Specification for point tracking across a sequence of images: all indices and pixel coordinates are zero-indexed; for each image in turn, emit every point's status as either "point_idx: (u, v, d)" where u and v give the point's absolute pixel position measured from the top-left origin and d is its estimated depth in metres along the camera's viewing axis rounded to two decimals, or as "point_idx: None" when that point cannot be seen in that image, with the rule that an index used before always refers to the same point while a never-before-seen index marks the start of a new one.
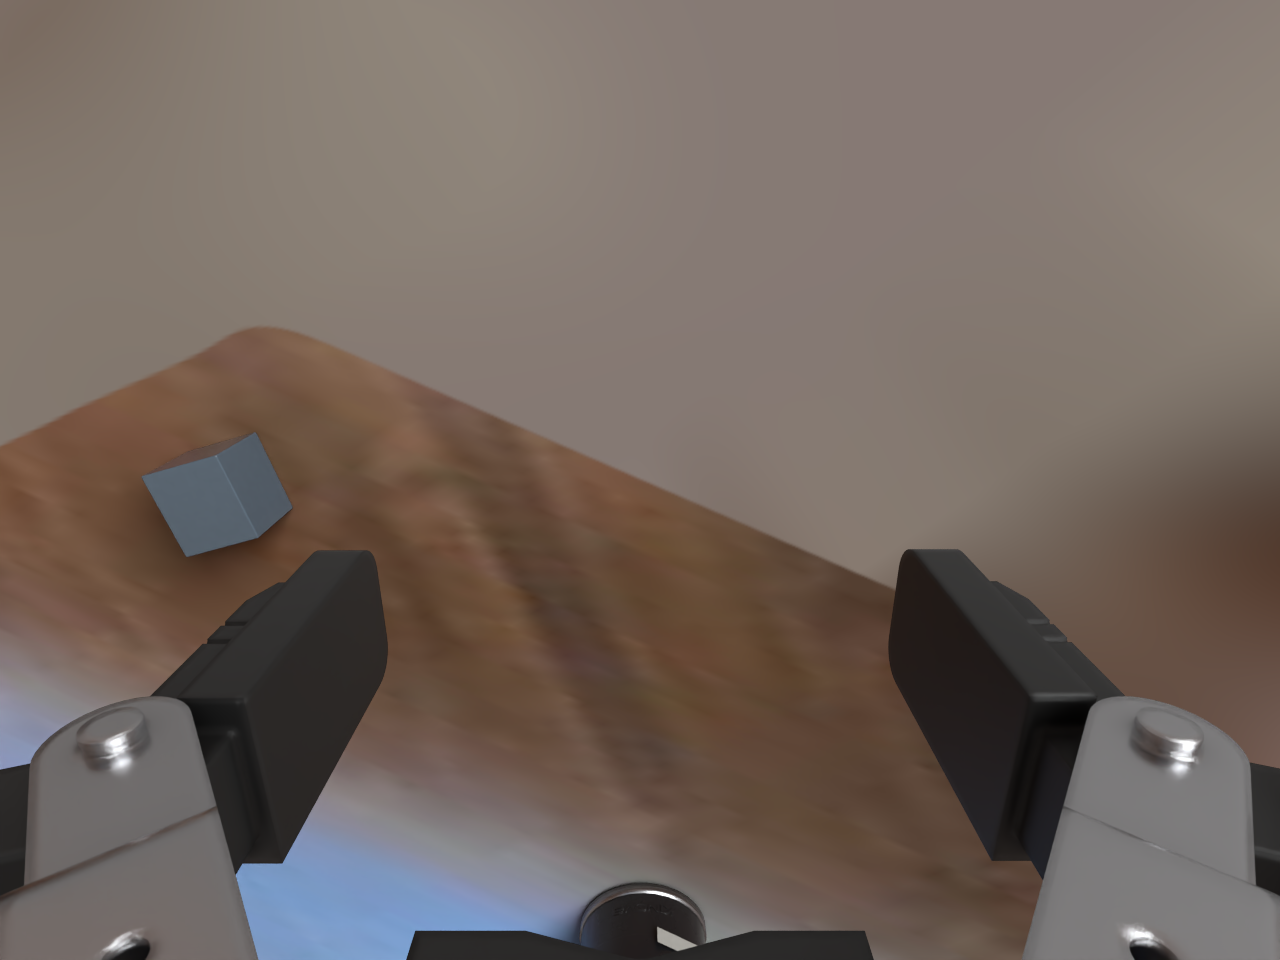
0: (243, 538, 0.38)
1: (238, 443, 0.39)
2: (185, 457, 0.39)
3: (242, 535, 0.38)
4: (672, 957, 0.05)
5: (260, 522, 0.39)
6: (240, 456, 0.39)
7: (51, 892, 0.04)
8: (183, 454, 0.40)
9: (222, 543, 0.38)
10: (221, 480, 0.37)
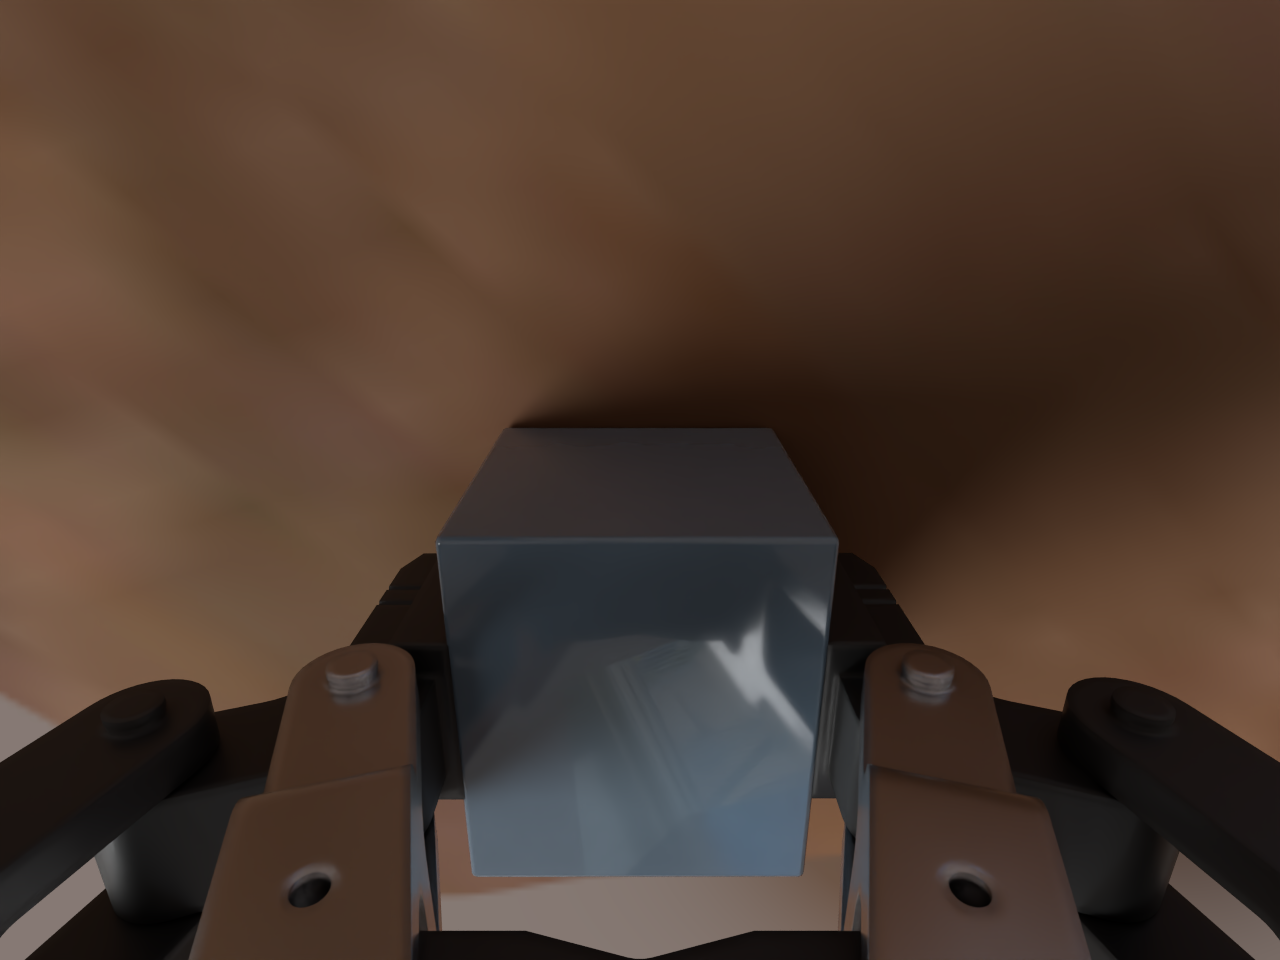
0: (506, 553, 0.08)
1: None
2: None
3: (506, 569, 0.08)
4: (674, 957, 0.05)
5: None
6: None
7: (271, 808, 0.05)
8: None
9: (621, 560, 0.08)
10: (489, 799, 0.09)
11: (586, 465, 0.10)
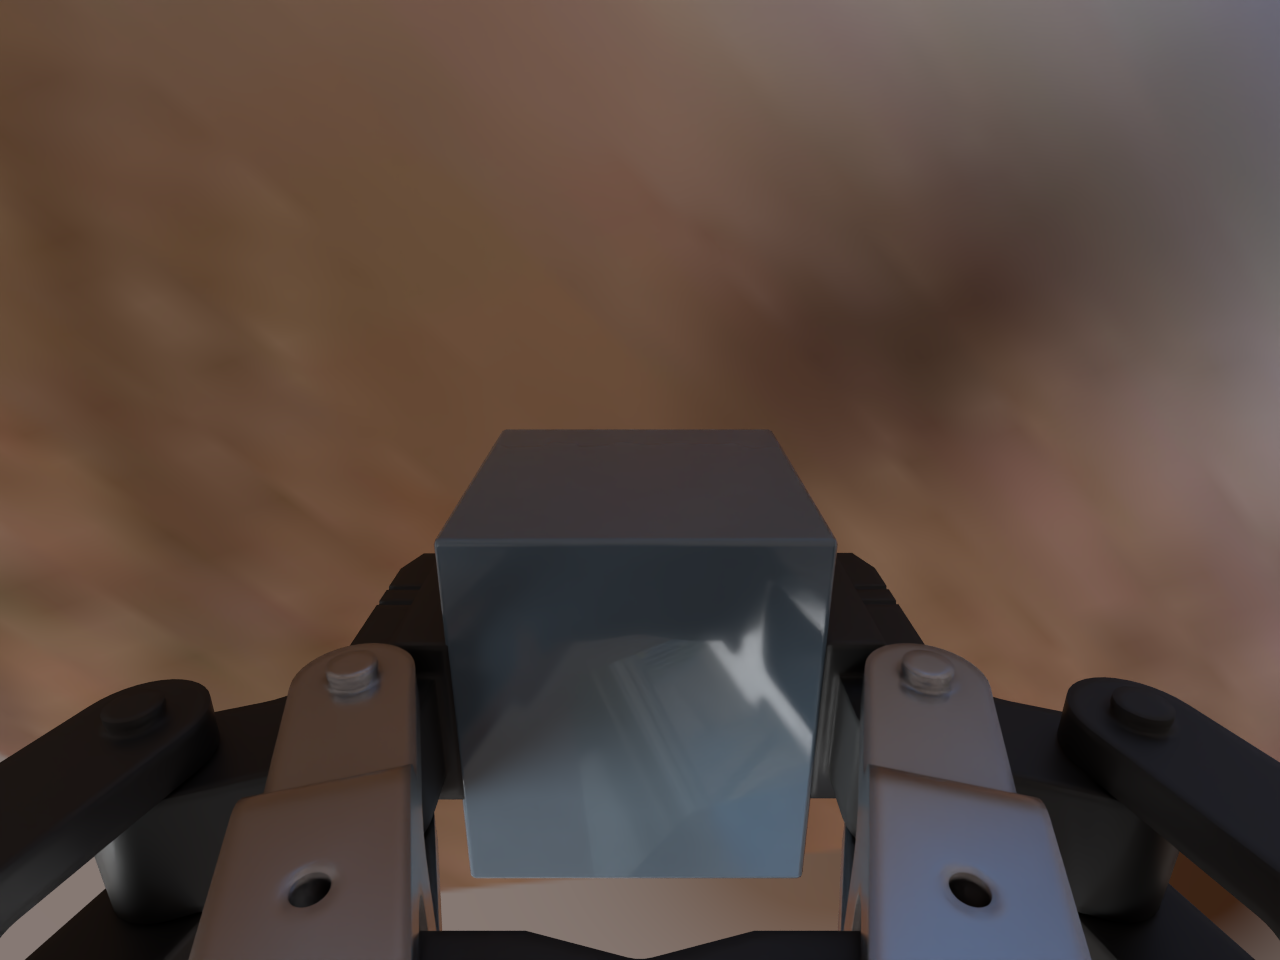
0: (505, 555, 0.08)
1: None
2: None
3: (503, 572, 0.08)
4: (672, 955, 0.05)
5: None
6: None
7: (271, 808, 0.05)
8: None
9: (619, 562, 0.08)
10: (488, 801, 0.09)
11: (585, 467, 0.10)
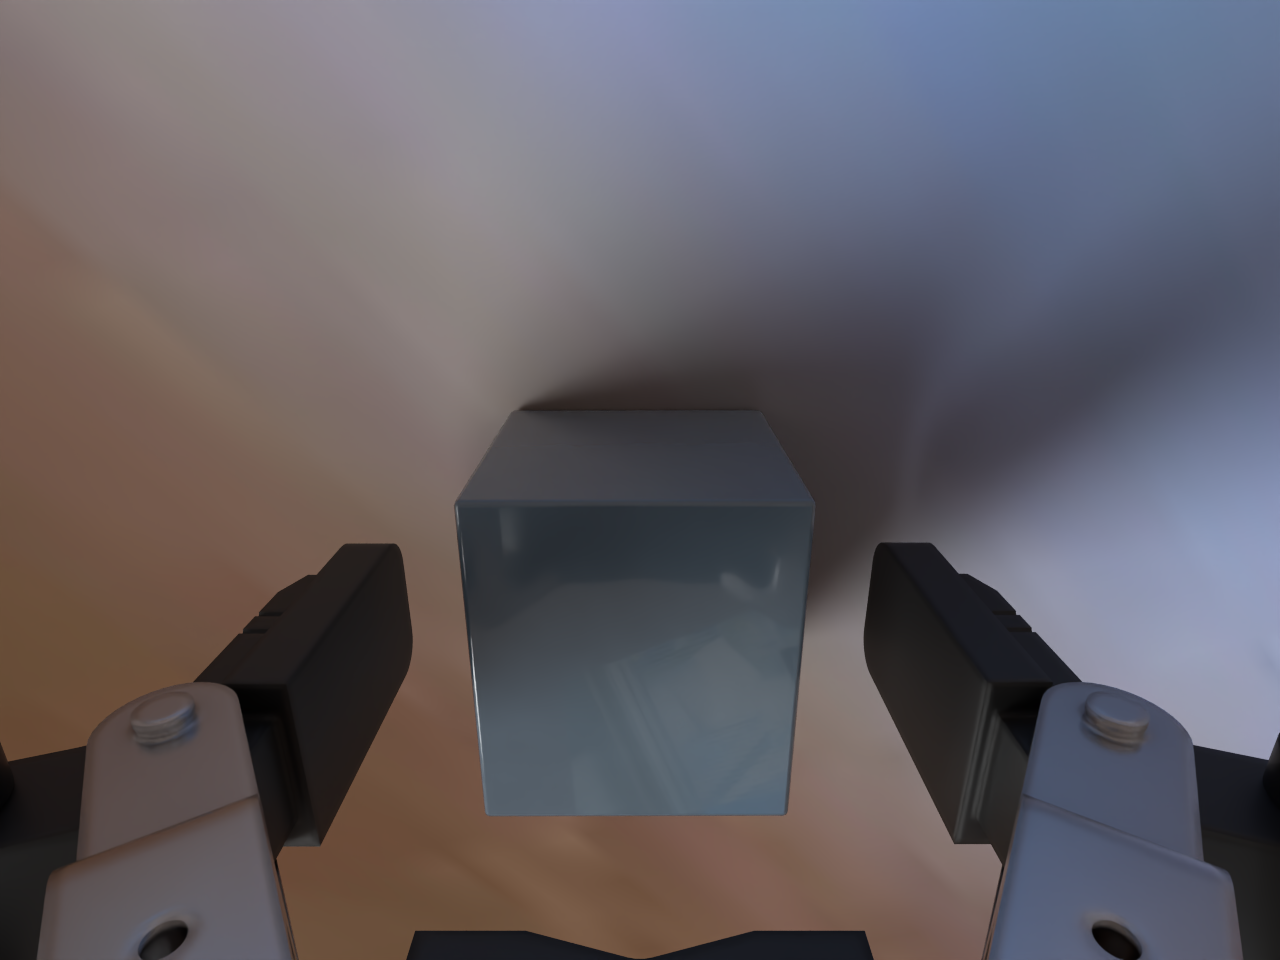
0: (518, 515, 0.09)
1: None
2: None
3: (516, 531, 0.09)
4: (672, 955, 0.05)
5: None
6: None
7: (98, 871, 0.05)
8: None
9: (620, 521, 0.09)
10: (501, 743, 0.10)
11: (588, 442, 0.11)
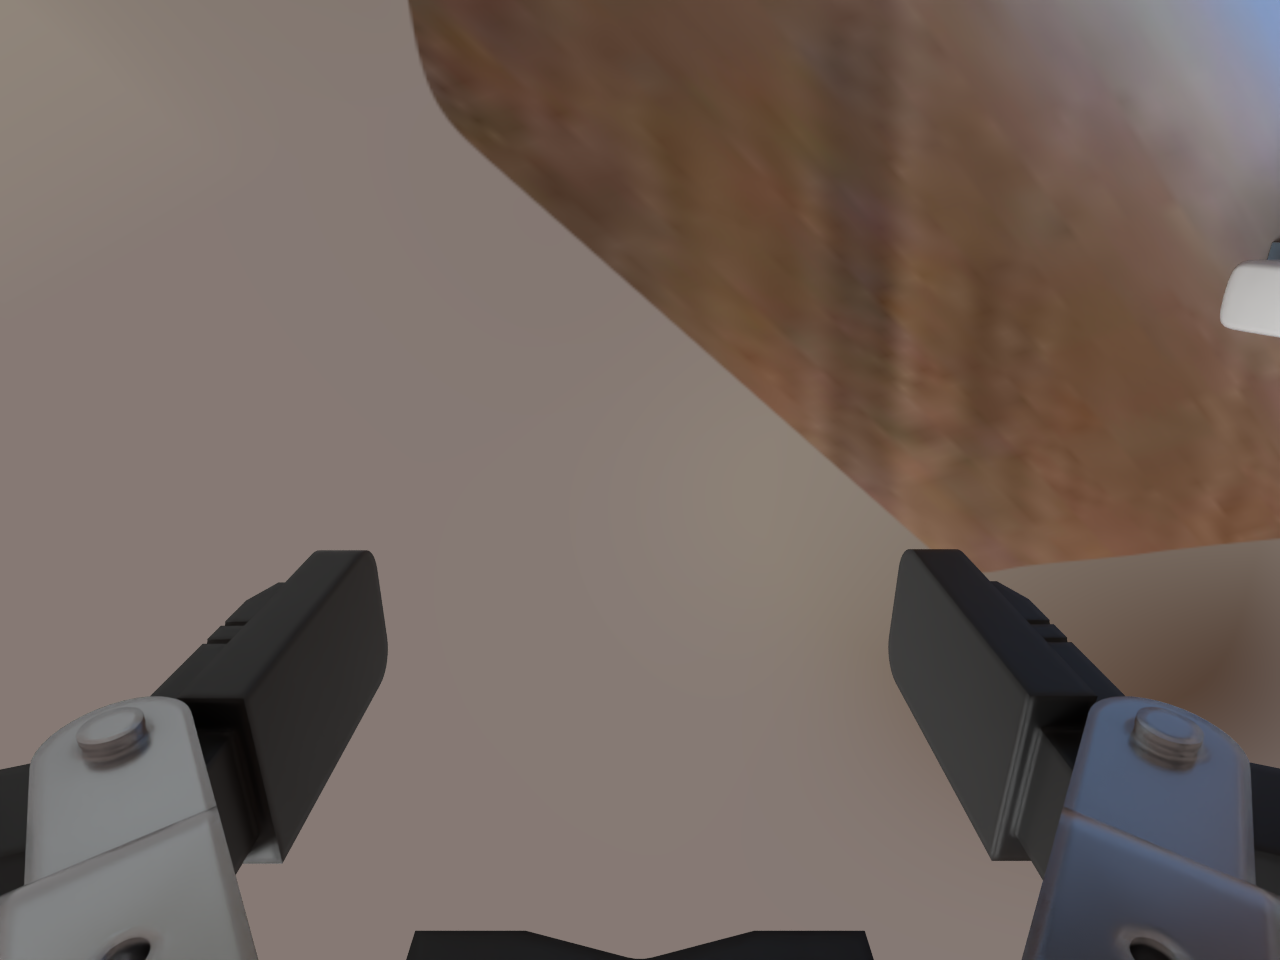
0: None
1: None
2: None
3: None
4: (672, 955, 0.05)
5: None
6: None
7: (49, 892, 0.04)
8: None
9: None
10: None
11: None
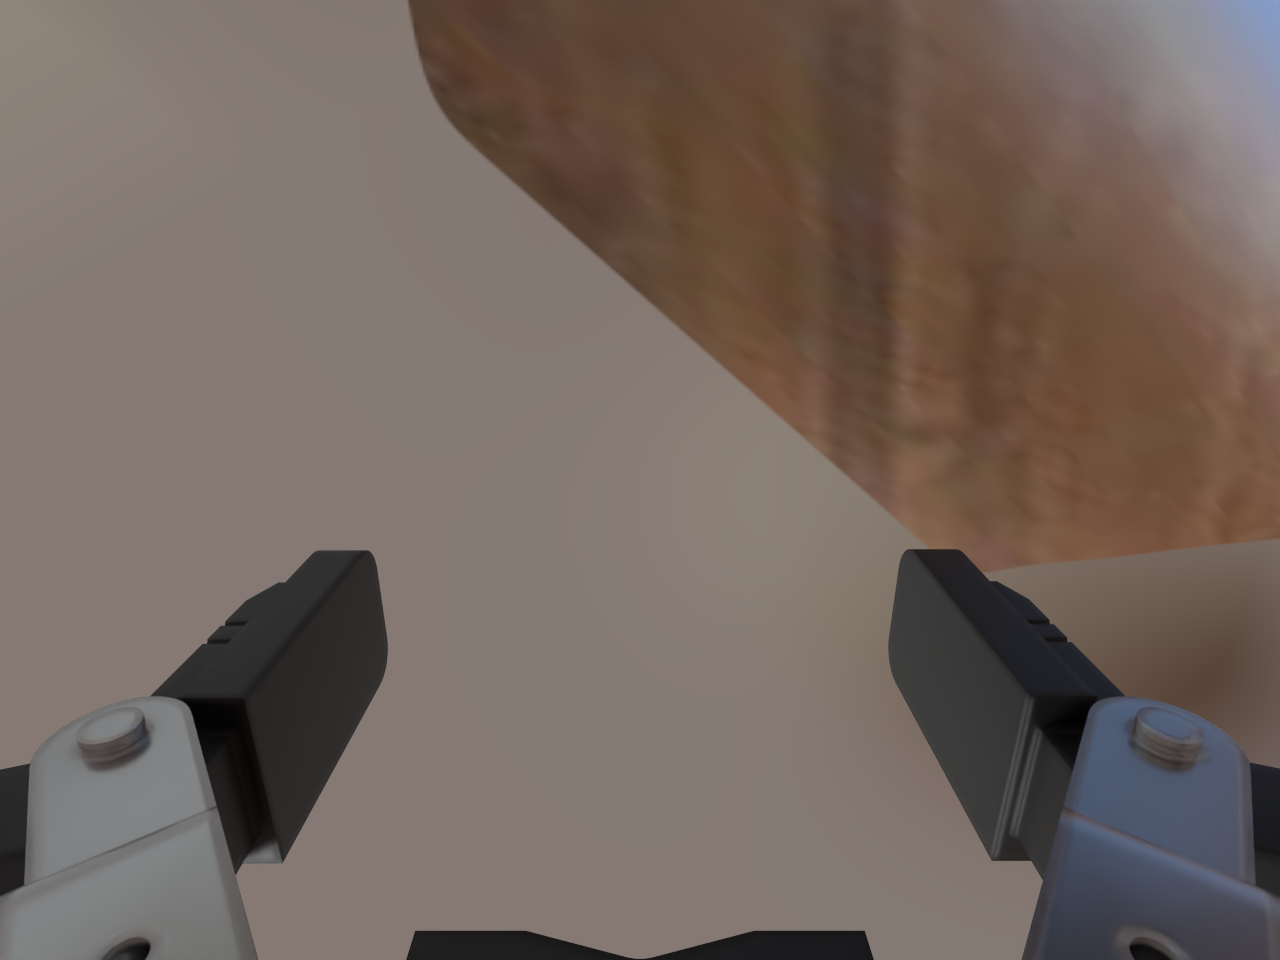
0: None
1: None
2: None
3: None
4: (672, 955, 0.05)
5: None
6: None
7: (49, 892, 0.04)
8: None
9: None
10: None
11: None
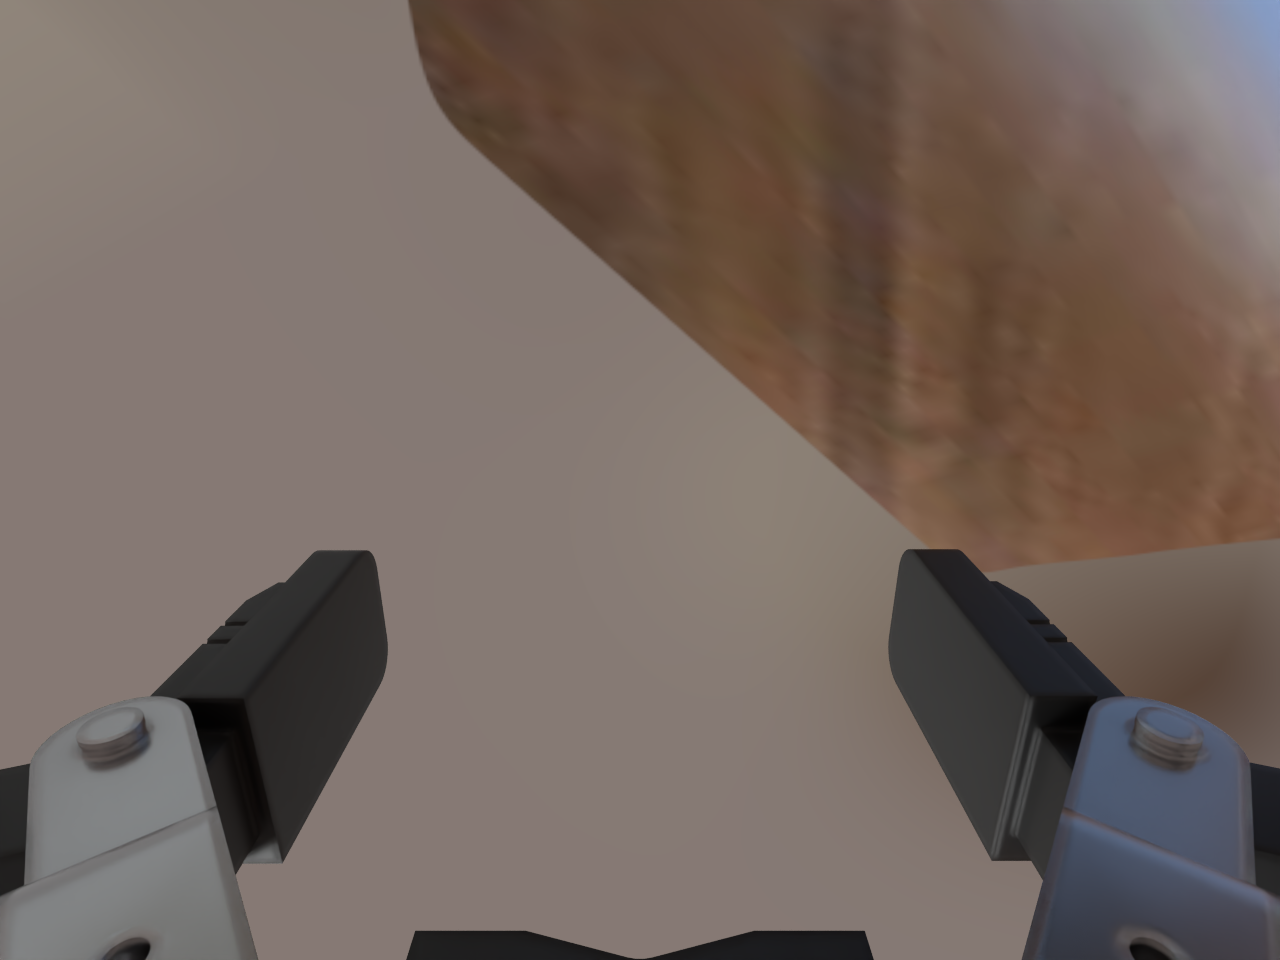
0: None
1: None
2: None
3: None
4: (672, 955, 0.05)
5: None
6: None
7: (49, 892, 0.04)
8: None
9: None
10: None
11: None
